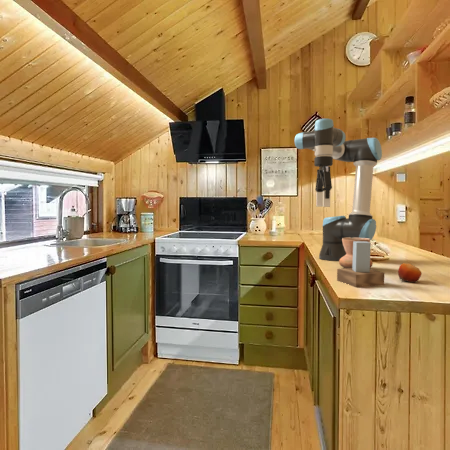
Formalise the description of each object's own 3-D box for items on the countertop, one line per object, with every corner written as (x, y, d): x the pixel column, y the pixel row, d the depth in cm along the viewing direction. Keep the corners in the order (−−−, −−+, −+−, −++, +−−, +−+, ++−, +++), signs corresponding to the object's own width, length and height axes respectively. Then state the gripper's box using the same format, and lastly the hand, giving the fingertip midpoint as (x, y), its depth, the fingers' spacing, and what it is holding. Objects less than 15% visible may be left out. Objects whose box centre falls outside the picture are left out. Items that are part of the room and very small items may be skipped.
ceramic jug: (333, 266, 174) (334, 236, 173) (363, 265, 174) (363, 236, 173) (347, 273, 156) (348, 240, 155) (380, 273, 156) (381, 240, 155)
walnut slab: (363, 279, 144) (363, 267, 144) (384, 286, 133) (384, 272, 133) (337, 281, 141) (337, 268, 141) (355, 288, 130) (356, 274, 129)
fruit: (389, 275, 144) (401, 258, 143) (407, 285, 143) (418, 268, 142) (397, 279, 136) (409, 261, 135) (415, 290, 135) (427, 272, 134)
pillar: (352, 269, 139) (353, 241, 138) (365, 269, 139) (366, 241, 138) (355, 272, 134) (356, 242, 133) (369, 272, 134) (370, 242, 133)
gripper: (309, 160, 165) (308, 206, 167) (320, 152, 140) (320, 207, 142) (325, 160, 165) (325, 206, 166) (340, 152, 140) (339, 207, 141)
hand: (322, 206), depth 154 cm, fingers open, 13 cm apart
